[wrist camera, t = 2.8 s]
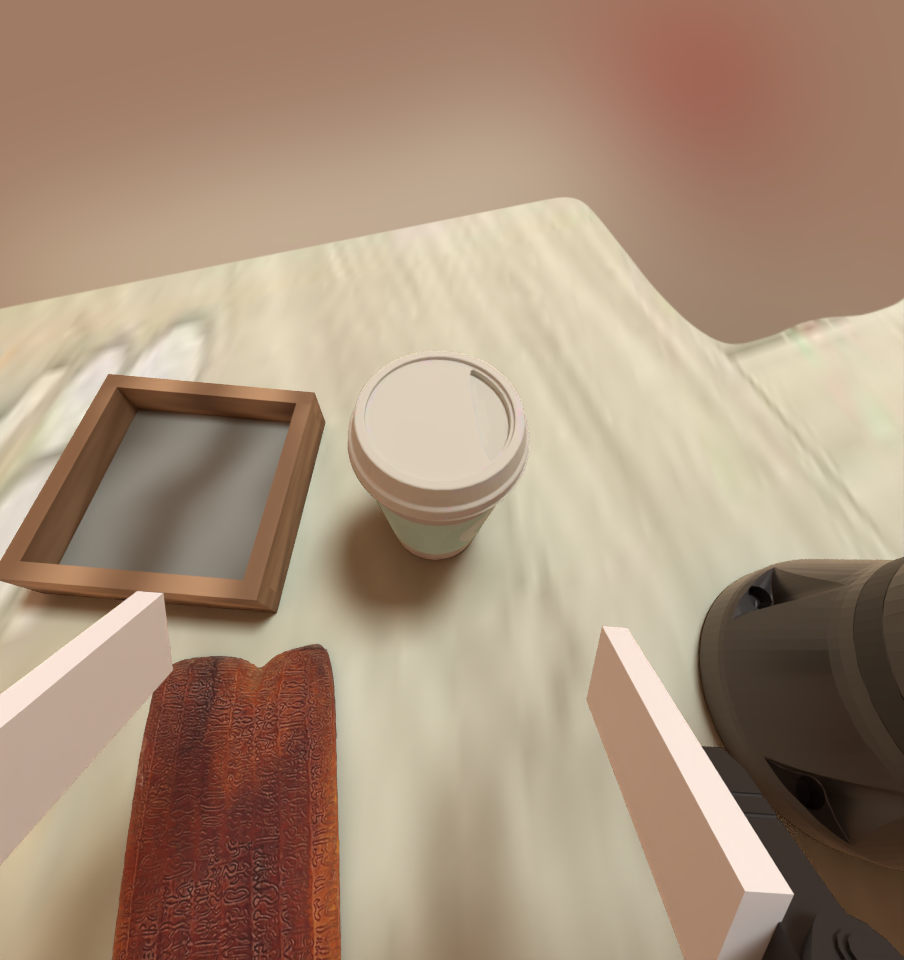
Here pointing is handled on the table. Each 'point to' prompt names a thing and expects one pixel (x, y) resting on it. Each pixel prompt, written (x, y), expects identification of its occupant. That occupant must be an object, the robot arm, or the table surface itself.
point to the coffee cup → (438, 447)
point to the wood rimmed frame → (174, 496)
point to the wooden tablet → (235, 815)
